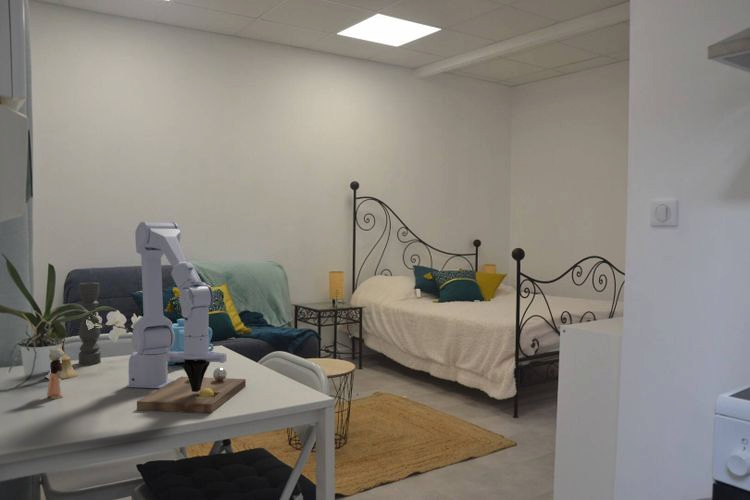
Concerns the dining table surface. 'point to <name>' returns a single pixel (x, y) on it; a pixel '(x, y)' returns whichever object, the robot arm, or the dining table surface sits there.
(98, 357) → the candle holder
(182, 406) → the hole plate
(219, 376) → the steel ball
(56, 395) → the grandmother figurine
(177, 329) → the decorative pot
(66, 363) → the hand bell
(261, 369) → the dining table surface
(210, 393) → the ball
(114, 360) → the dining table surface
